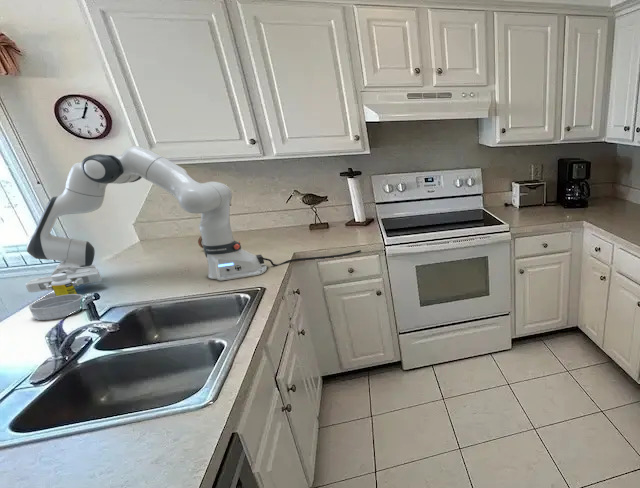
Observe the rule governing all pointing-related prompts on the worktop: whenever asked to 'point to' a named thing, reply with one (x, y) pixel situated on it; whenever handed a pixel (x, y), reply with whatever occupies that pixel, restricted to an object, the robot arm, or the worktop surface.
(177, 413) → the worktop surface
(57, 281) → the supplement bottle
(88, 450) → the worktop surface
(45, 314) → the grey shallow bowl
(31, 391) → the worktop surface
